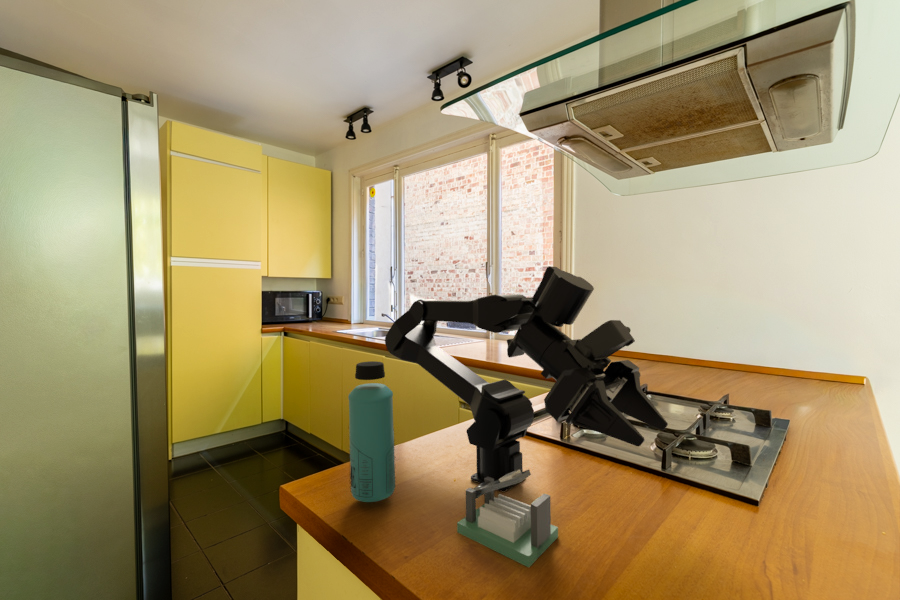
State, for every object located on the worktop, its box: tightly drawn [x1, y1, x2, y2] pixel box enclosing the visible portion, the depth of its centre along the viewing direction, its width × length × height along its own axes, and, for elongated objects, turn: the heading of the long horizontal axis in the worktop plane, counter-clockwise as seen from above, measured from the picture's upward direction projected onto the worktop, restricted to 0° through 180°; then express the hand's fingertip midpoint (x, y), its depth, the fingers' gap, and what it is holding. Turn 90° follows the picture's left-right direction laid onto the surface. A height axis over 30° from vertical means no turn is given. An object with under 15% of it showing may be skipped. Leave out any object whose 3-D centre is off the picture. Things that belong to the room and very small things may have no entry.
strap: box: [473, 469, 532, 500], centre depth 49 cm, size 8×2×1 cm
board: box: [456, 477, 559, 568], centre depth 49 cm, size 10×7×6 cm
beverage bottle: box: [347, 361, 397, 503], centre depth 57 cm, size 6×7×20 cm
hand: (654, 434), depth 47 cm, fingers open, 9 cm apart
